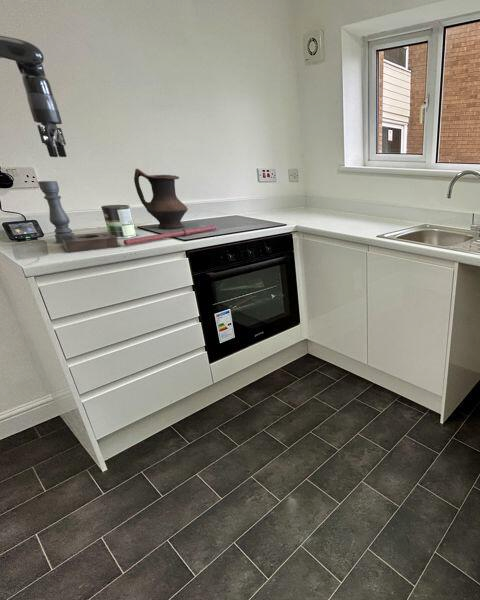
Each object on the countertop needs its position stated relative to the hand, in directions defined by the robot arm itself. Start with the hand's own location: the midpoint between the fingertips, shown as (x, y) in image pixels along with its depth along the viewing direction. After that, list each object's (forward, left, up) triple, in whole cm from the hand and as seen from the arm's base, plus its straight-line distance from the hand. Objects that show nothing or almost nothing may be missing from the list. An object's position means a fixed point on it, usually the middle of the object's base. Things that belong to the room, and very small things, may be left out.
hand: (58, 157), depth 132 cm
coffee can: (+16, +16, -35) cm, 41 cm away
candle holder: (-4, +17, -35) cm, 39 cm away
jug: (+39, +30, -35) cm, 60 cm away
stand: (+2, +1, -35) cm, 35 cm away
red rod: (+33, -1, -35) cm, 48 cm away
